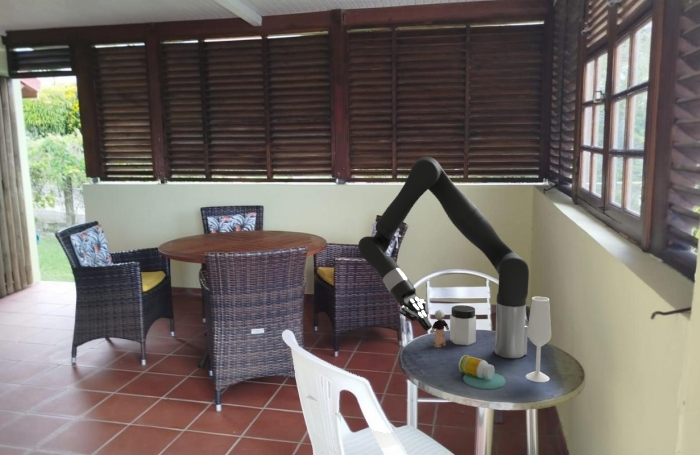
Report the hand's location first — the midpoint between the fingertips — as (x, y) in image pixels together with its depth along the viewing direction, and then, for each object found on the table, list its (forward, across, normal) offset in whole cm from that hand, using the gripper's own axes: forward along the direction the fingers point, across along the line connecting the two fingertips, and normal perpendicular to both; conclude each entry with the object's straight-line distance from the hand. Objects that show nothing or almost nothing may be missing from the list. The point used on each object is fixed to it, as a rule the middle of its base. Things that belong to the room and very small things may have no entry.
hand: (429, 328), depth 173 cm
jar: (+6, +24, +10) cm, 26 cm away
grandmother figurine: (+4, +14, +12) cm, 19 cm away
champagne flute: (+30, +12, -13) cm, 35 cm away
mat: (+22, 0, -6) cm, 23 cm away
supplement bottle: (+14, 0, -3) cm, 15 cm away
